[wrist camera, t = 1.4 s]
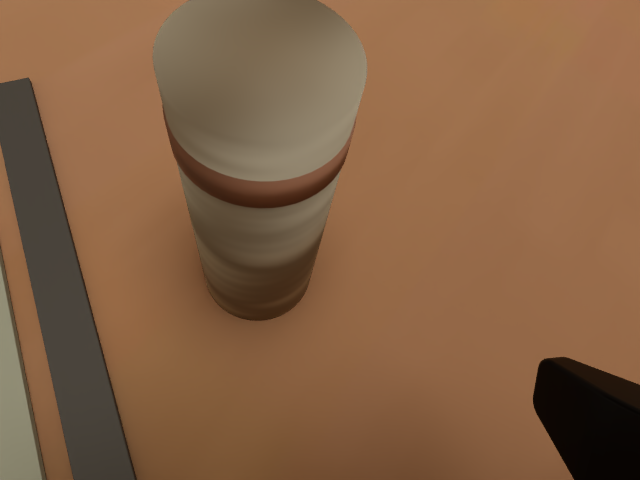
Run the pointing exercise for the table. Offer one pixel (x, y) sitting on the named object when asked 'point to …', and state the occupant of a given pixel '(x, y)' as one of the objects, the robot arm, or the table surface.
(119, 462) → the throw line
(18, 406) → the mat
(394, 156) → the table surface
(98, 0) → the table surface
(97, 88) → the table surface
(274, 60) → the skittle
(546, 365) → the robot arm
